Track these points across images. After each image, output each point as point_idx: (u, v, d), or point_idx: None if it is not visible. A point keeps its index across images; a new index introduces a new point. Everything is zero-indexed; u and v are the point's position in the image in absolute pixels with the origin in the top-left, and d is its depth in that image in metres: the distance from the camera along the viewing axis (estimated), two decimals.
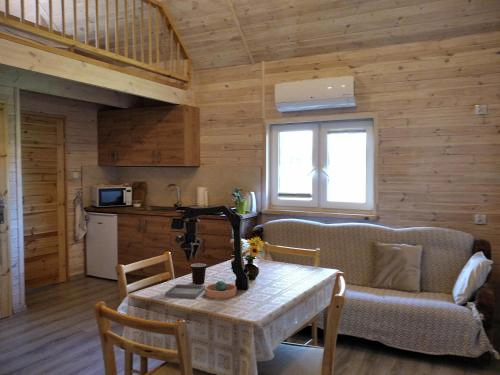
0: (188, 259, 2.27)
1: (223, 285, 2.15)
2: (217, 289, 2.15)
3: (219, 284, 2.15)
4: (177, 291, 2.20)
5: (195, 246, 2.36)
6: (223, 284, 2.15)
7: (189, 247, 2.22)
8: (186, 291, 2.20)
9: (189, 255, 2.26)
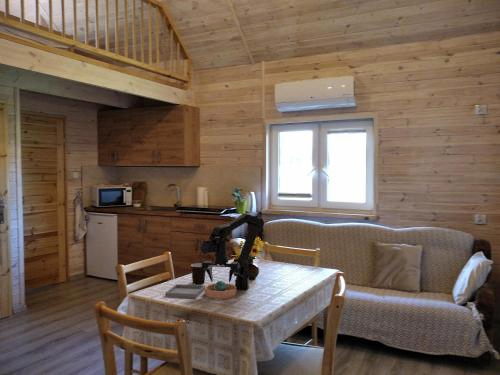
0: None
1: (223, 285, 2.15)
2: (217, 289, 2.15)
3: (219, 284, 2.15)
4: (177, 291, 2.20)
5: None
6: (223, 284, 2.15)
7: None
8: (186, 291, 2.20)
9: None
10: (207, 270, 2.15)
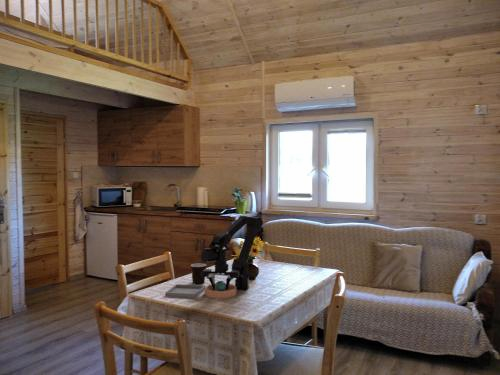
0: None
1: (223, 285, 2.15)
2: (217, 289, 2.15)
3: (219, 284, 2.15)
4: (177, 291, 2.20)
5: None
6: (223, 284, 2.15)
7: None
8: (186, 291, 2.20)
9: None
10: (210, 278, 2.15)
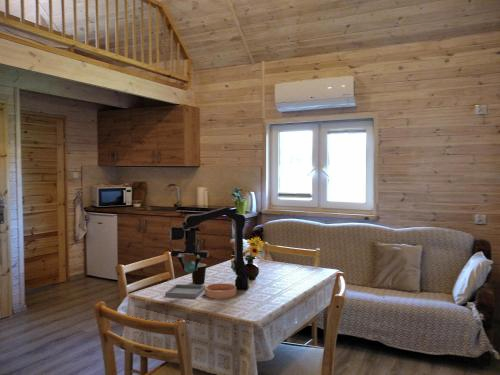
0: None
1: (192, 265, 2.16)
2: (186, 269, 2.16)
3: (188, 264, 2.16)
4: (177, 291, 2.20)
5: None
6: (192, 264, 2.17)
7: None
8: (186, 291, 2.20)
9: None
10: (179, 258, 2.16)
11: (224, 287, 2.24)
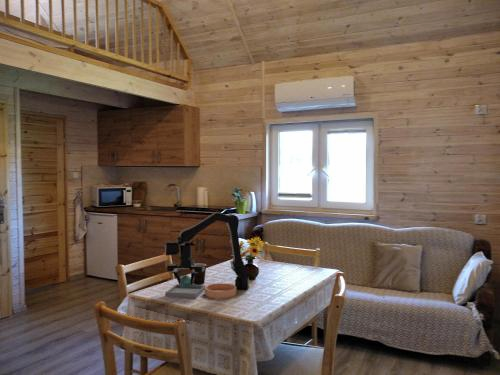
0: None
1: (188, 279, 2.17)
2: (182, 283, 2.17)
3: (184, 278, 2.17)
4: (177, 291, 2.20)
5: None
6: (188, 278, 2.17)
7: None
8: (186, 291, 2.20)
9: None
10: (175, 273, 2.17)
11: (224, 287, 2.24)
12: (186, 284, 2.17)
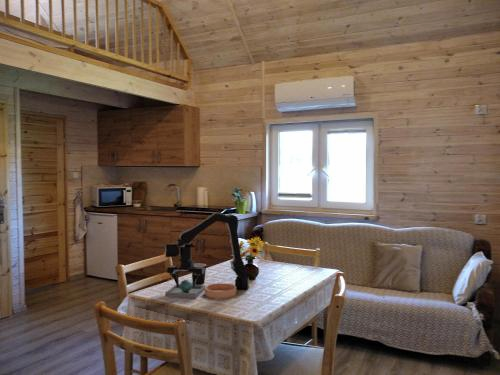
0: None
1: (188, 284, 2.17)
2: (182, 288, 2.17)
3: (184, 283, 2.17)
4: (177, 291, 2.20)
5: None
6: (188, 283, 2.17)
7: None
8: None
9: None
10: (173, 275, 2.17)
11: (224, 287, 2.24)
12: (186, 289, 2.17)
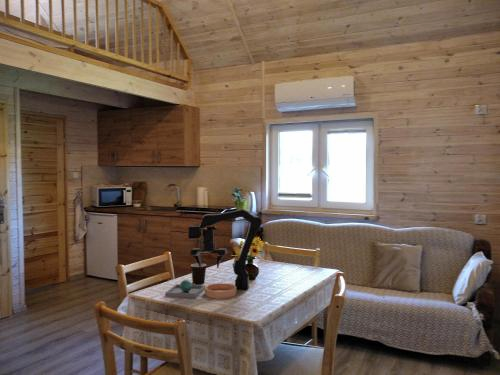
0: None
1: (188, 284, 2.17)
2: (182, 288, 2.17)
3: (184, 283, 2.17)
4: (177, 291, 2.20)
5: None
6: (188, 283, 2.17)
7: None
8: None
9: None
10: (196, 257, 2.23)
11: (224, 287, 2.24)
12: (186, 289, 2.17)
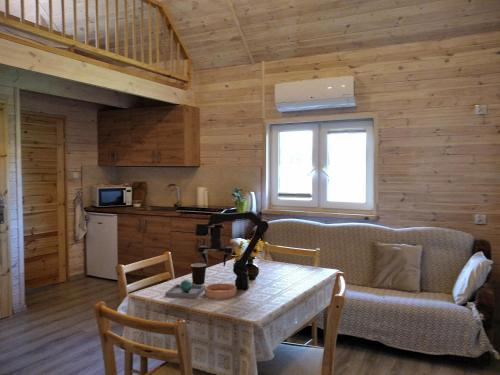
0: None
1: (188, 284, 2.17)
2: (182, 288, 2.17)
3: (184, 283, 2.17)
4: (177, 291, 2.20)
5: None
6: (188, 283, 2.17)
7: None
8: None
9: None
10: (203, 254, 2.26)
11: (224, 287, 2.24)
12: (186, 289, 2.17)
